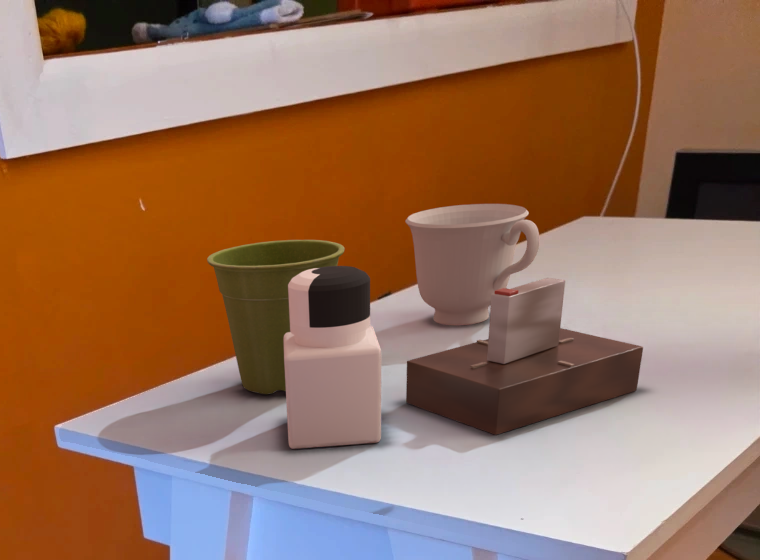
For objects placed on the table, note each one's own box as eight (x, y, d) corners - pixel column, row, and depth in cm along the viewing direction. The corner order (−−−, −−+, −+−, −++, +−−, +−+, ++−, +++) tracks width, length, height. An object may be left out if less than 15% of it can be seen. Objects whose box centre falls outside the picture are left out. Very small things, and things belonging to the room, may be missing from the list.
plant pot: (320, 407, 82) (316, 265, 76) (197, 401, 87) (183, 267, 80) (363, 367, 90) (362, 236, 84) (249, 363, 95) (240, 239, 89)
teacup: (487, 344, 93) (495, 230, 87) (380, 323, 103) (380, 220, 97) (567, 317, 98) (579, 208, 92) (457, 300, 108) (462, 201, 103)
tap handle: (541, 342, 79) (547, 274, 76) (558, 345, 78) (566, 276, 75) (486, 360, 77) (491, 290, 74) (504, 364, 75) (509, 293, 72)
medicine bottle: (373, 413, 79) (373, 256, 72) (381, 443, 74) (382, 276, 67) (287, 420, 80) (279, 265, 73) (289, 450, 74) (280, 285, 67)
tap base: (539, 364, 86) (543, 321, 84) (637, 390, 78) (644, 344, 76) (405, 403, 81) (406, 358, 79) (495, 435, 73) (499, 386, 71)
